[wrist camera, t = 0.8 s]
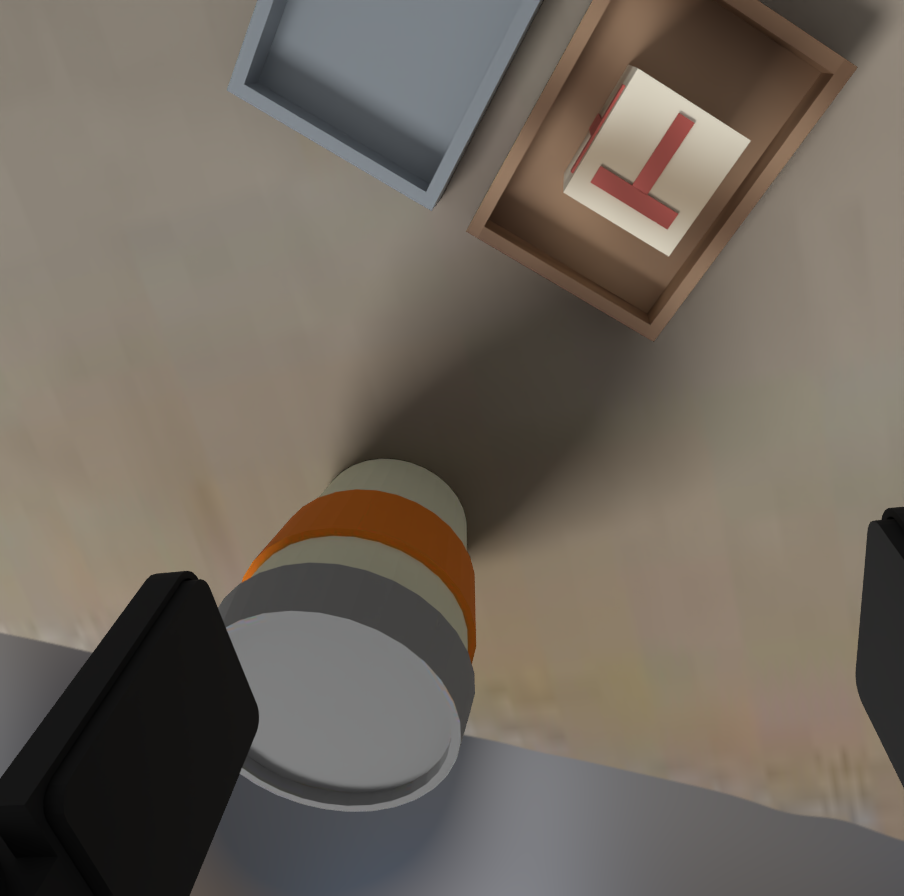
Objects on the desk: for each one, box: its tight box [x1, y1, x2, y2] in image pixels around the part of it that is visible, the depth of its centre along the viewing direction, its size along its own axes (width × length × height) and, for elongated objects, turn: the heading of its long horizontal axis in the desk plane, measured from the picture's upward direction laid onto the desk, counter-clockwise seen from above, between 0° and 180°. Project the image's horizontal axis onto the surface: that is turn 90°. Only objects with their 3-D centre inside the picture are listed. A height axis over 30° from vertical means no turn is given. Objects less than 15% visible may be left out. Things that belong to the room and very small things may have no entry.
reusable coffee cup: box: [218, 459, 476, 812], centre depth 39 cm, size 13×13×15 cm
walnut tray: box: [466, 0, 858, 342], centre depth 33 cm, size 13×10×2 cm
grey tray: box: [227, 0, 543, 211], centre depth 31 cm, size 13×10×2 cm
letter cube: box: [563, 64, 751, 256], centre depth 31 cm, size 5×5×5 cm
